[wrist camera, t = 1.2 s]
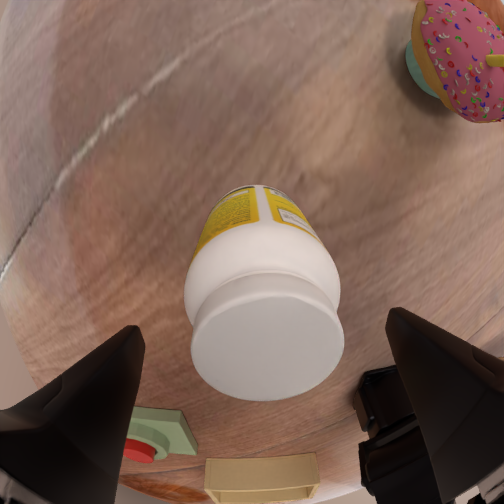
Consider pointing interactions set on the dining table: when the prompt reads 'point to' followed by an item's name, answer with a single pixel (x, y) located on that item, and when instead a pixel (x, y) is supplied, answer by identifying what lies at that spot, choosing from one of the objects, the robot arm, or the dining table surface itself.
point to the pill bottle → (262, 299)
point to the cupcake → (458, 58)
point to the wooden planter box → (261, 479)
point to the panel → (162, 431)
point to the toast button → (139, 451)
